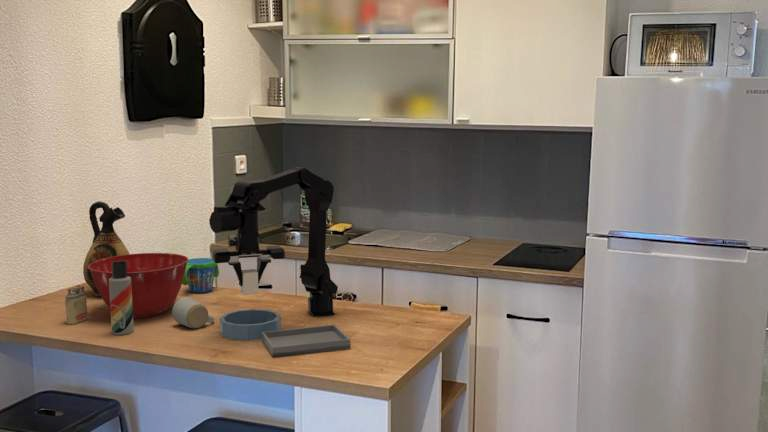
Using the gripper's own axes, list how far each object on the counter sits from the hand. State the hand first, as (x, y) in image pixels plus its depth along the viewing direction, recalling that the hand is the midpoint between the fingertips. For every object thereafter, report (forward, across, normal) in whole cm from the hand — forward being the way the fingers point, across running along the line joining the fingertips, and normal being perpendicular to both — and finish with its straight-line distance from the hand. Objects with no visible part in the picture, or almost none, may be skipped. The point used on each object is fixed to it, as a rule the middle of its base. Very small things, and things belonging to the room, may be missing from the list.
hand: (249, 285), depth 219 cm
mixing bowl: (+13, +27, -31) cm, 43 cm away
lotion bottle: (+13, +33, -11) cm, 37 cm away
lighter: (+13, +45, -27) cm, 54 cm away
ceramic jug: (+13, +36, -58) cm, 69 cm away
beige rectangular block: (+2, 0, 0) cm, 2 cm away
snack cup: (+13, +7, -51) cm, 53 cm away
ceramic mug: (+13, +14, -12) cm, 22 cm away
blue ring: (+13, 0, 0) cm, 13 cm away
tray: (+13, -11, +17) cm, 24 cm away
